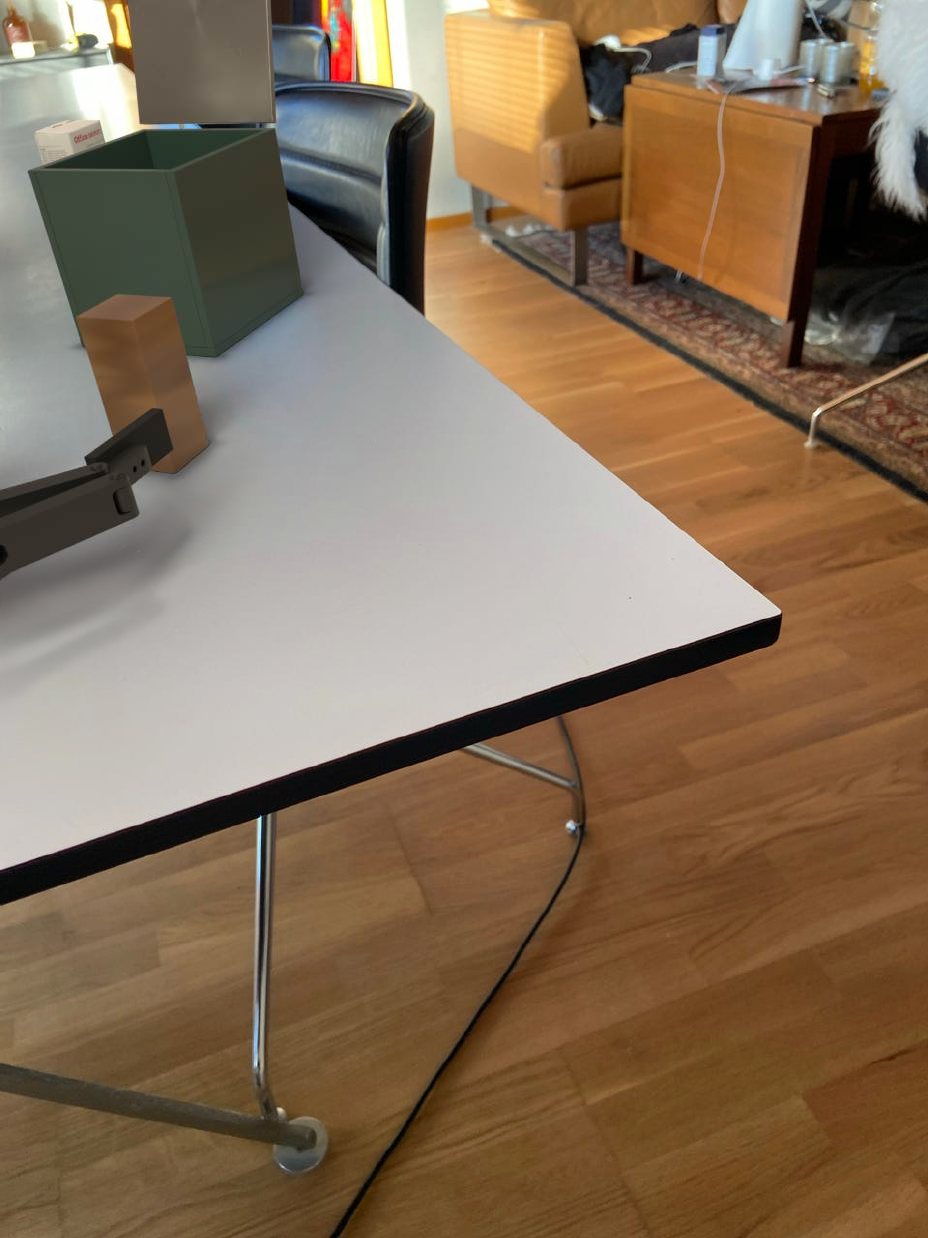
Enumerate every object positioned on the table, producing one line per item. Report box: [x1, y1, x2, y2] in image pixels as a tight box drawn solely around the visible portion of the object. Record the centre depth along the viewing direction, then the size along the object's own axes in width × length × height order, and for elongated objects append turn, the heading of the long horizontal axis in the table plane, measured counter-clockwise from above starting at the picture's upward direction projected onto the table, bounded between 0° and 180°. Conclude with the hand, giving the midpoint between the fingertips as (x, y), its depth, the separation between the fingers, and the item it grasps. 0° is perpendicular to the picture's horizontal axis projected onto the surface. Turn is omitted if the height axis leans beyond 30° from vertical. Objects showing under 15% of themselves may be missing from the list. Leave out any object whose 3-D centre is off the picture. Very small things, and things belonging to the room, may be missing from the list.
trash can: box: [27, 127, 304, 358], centre depth 91 cm, size 17×15×15 cm
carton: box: [76, 294, 210, 474], centre depth 68 cm, size 4×4×11 cm
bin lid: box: [127, 0, 277, 126], centre depth 89 cm, size 18×15×1 cm
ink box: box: [33, 119, 106, 165], centre depth 125 cm, size 9×5×12 cm, turn 170°
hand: (73, 418), depth 62 cm, fingers open, 13 cm apart
